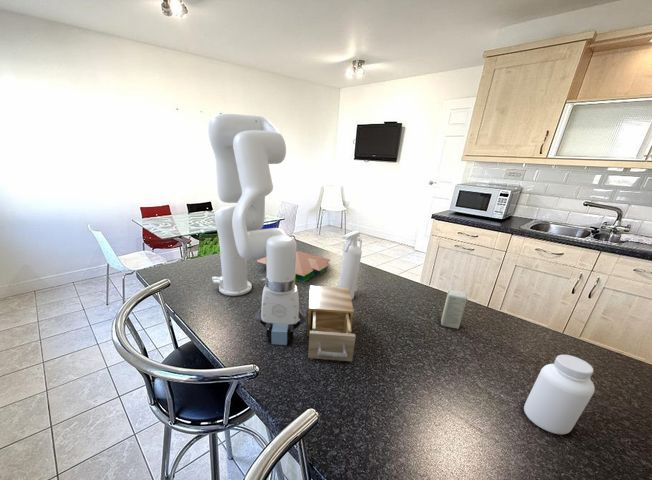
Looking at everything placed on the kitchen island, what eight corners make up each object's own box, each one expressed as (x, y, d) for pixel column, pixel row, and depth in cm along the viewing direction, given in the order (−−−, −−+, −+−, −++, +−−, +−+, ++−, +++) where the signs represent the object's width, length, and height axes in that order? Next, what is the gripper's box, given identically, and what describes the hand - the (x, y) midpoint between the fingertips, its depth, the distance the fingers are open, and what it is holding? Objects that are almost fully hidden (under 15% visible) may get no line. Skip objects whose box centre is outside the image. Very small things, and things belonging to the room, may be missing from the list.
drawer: (354, 374, 72) (358, 348, 68) (307, 370, 73) (309, 345, 69) (347, 331, 88) (350, 308, 85) (309, 328, 89) (310, 306, 86)
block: (271, 344, 83) (271, 331, 81) (273, 334, 87) (273, 322, 85) (286, 345, 83) (287, 332, 81) (288, 335, 87) (288, 323, 85)
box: (458, 322, 95) (467, 292, 91) (458, 329, 92) (468, 298, 87) (440, 318, 97) (448, 288, 92) (440, 325, 94) (448, 294, 89)
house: (309, 285, 118) (310, 266, 114) (248, 265, 135) (247, 248, 132) (335, 267, 135) (337, 251, 131) (278, 252, 152) (278, 237, 149)
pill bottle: (513, 404, 65) (538, 350, 59) (546, 402, 66) (574, 349, 60) (544, 437, 58) (577, 379, 52) (581, 434, 59) (618, 377, 53)
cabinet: (350, 339, 86) (353, 311, 82) (306, 336, 87) (308, 308, 83) (345, 313, 99) (348, 287, 95) (308, 310, 100) (309, 285, 96)
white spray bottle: (364, 294, 112) (373, 230, 101) (344, 304, 104) (352, 236, 94) (350, 287, 116) (357, 226, 106) (330, 297, 109) (336, 232, 99)
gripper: (245, 287, 75) (248, 345, 82) (312, 291, 73) (309, 350, 81) (252, 275, 81) (253, 329, 89) (313, 278, 80) (309, 333, 88)
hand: (280, 338), depth 85 cm, fingers open, 4 cm apart
